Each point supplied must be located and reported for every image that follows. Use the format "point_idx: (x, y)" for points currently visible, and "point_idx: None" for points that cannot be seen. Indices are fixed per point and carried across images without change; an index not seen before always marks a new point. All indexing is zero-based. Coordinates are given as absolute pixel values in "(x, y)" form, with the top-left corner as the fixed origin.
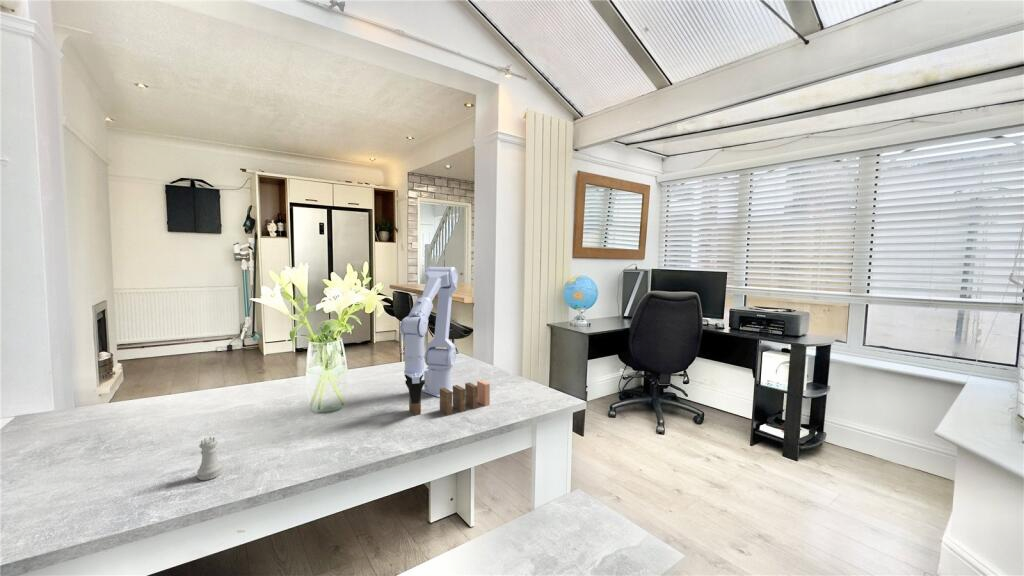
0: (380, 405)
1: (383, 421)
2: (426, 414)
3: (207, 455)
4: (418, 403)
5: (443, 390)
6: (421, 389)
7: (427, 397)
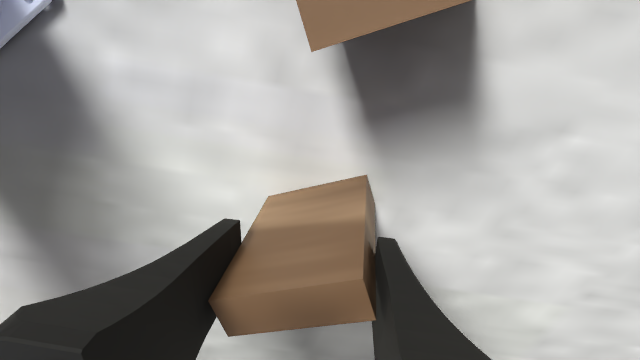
0: None
1: None
2: (380, 141)
3: None
4: (369, 230)
5: (429, 11)
6: (454, 328)
7: (56, 80)
